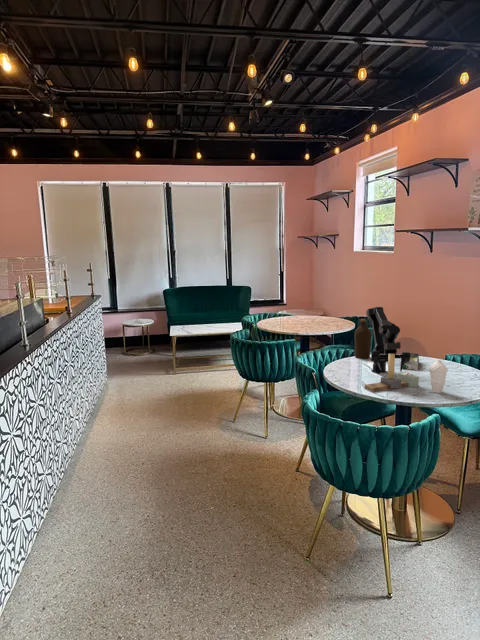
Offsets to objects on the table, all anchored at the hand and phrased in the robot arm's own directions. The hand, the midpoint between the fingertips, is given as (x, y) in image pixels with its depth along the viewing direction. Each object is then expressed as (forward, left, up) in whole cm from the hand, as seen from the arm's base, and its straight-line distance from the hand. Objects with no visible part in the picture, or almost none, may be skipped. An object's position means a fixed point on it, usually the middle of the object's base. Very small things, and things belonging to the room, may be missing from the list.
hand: (391, 371), depth 211 cm
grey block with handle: (0, 0, -8) cm, 8 cm away
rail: (+3, 0, -8) cm, 9 cm away
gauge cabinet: (-11, 0, -8) cm, 14 cm away
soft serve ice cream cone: (-15, +15, -9) cm, 23 cm away
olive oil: (-26, -58, -9) cm, 64 cm away
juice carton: (-38, -29, -9) cm, 49 cm away
